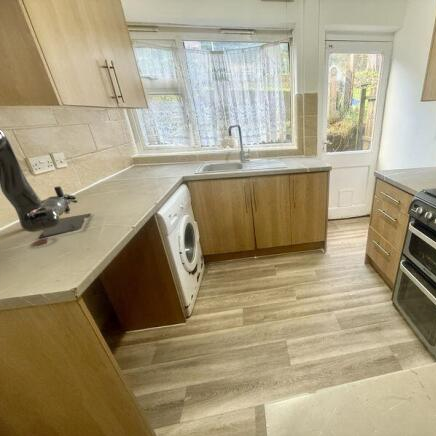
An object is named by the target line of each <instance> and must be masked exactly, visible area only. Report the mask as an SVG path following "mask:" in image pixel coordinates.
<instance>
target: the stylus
mask: <svg viewBox="0 0 436 436" xmlns="http://www.w3.org/2000/svg"><path fill="white" fill-rule="evenodd" d="M53 189H54V191H55V194H56V196H58V197H62V196H64V195H65V193H64V191H63V189H62V186H59V185H58V186H54V187H53ZM71 213H72V211H71V208H70V206H69V205H68V206H67V208H66V210H65V211H64V212H63V214H65V215H67V214H71Z"/></svg>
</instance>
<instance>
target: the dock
mask: <svg viewBox="0 0 436 436" xmlns="http://www.w3.org/2000/svg"><path fill="white" fill-rule="evenodd" d="M48 239H49V238H48V237H44V238H40V239H38V240H36V241H34V242H32V243H31V245H30V246H31V247H40V246H44V245H47V244H48Z"/></svg>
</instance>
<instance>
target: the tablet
mask: <svg viewBox="0 0 436 436" xmlns="http://www.w3.org/2000/svg"><path fill="white" fill-rule="evenodd" d="M91 215H92V213H84V214H78V215H73V216H67V217H60V224H59V225H58V226H57V227H54V228H50V229H45V230H43V232H42V233H41V234H40V235H39V237H38V240H41V239H45V238H48V237H54V236H57V235H62V234H66V233H70V232H75V231H76V232H77V231H80V230H81V229H82V227H83V225H84V223H85V221H86V220H85V219H88V218H90V216H91Z"/></svg>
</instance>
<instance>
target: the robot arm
mask: <svg viewBox="0 0 436 436" xmlns="http://www.w3.org/2000/svg"><path fill="white" fill-rule="evenodd" d="M0 190H1V192H2V194H3V196H4V197H5V198H6V200H7V201H8V202H9V203H10V205H12V207H13V208H14V210H15V212H16V214H17V217H18V221H19V224H20V227H21V228H22V229H23V230H24V231H26V232H29V233H35V232H40V231H45V229H50V228H54V227H57V226H58V225H59V224H60V218H61V216H62V215H63V214H64V211H65V210H66V208H67V206H69V204H71V203H74V204H75V203H78V199H77V197H76V196H74V195H72V194H68V193H64V196H62V197H58V196H57V195H56V196H55V195H54V196H49V197H46V198H45V199H42V200H41V197H39V195H38V194H37V193H36V191H35V190H34V188H33V187H32V186H31V184H30V183H29V181H28V179H27V178H26V176H25V173H24V172H23V169H22V166H21V165H20V162H19V160H18V158H17V156H16V154H15V152H14V149H13V147H12V145H11V142H10V140H9V139H8V137H7V136H6V134H5V133H4V132H3V131H2V130H1V129H0ZM34 210H35V212H33V213H30V212H31V211H34Z"/></svg>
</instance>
